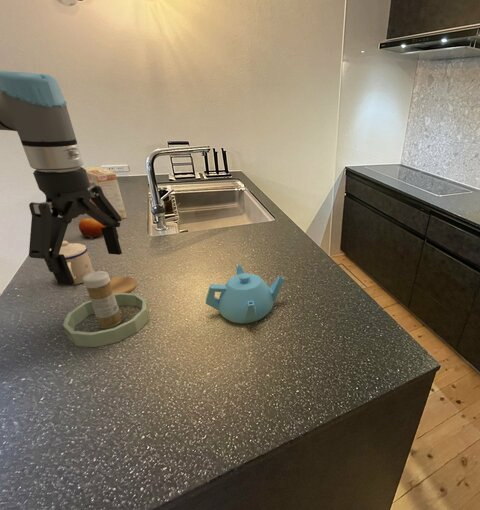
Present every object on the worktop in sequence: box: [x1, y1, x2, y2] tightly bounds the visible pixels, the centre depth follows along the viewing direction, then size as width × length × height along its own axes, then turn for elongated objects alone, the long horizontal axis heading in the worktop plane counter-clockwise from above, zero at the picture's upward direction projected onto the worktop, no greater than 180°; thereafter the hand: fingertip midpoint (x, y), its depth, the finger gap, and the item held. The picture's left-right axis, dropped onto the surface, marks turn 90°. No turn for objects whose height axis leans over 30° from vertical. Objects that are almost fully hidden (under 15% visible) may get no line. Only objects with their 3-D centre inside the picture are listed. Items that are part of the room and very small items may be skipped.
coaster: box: [110, 276, 137, 294], centre depth 86 cm, size 10×10×1 cm
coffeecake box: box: [83, 166, 128, 220], centre depth 128 cm, size 15×7×20 cm, turn 55°
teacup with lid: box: [49, 240, 95, 286], centre depth 85 cm, size 12×9×12 cm
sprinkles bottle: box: [83, 270, 123, 329], centre depth 70 cm, size 5×5×13 cm
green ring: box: [62, 292, 150, 348], centre depth 73 cm, size 16×16×4 cm
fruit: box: [78, 217, 106, 240], centre depth 112 cm, size 8×8×8 cm
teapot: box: [205, 264, 285, 325], centre depth 80 cm, size 15×15×11 cm
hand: (93, 267), depth 66 cm, fingers open, 13 cm apart
